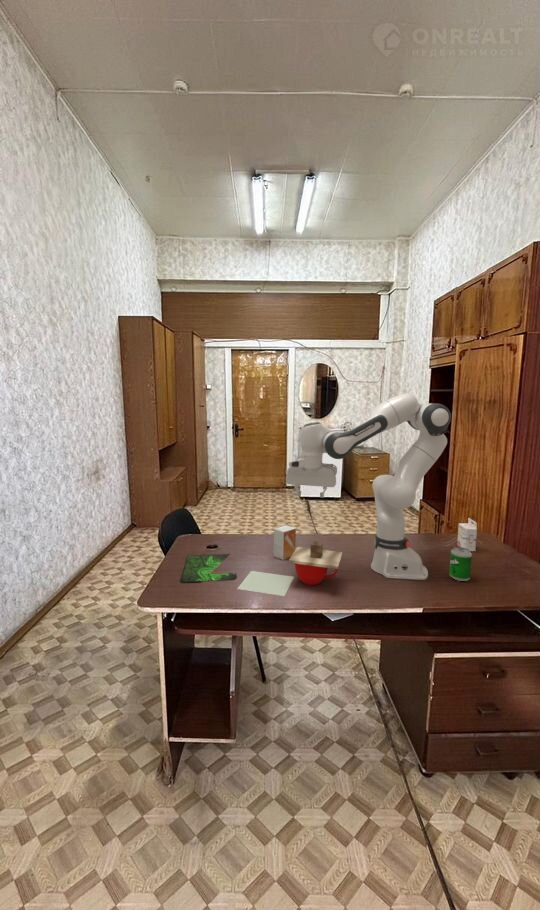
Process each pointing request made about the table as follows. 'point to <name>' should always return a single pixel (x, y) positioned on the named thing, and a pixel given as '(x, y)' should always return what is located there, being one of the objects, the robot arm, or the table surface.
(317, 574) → the ceramic cup
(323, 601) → the table surface
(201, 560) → the mouse mat
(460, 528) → the ink cartridge box
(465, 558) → the soda can
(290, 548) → the small box
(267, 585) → the mat
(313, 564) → the lid
